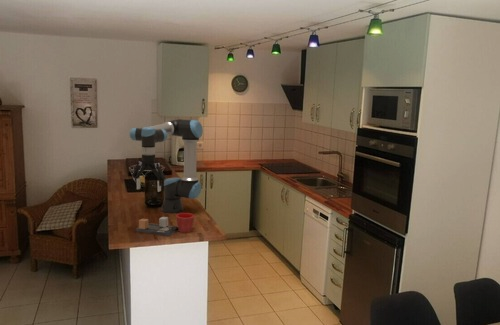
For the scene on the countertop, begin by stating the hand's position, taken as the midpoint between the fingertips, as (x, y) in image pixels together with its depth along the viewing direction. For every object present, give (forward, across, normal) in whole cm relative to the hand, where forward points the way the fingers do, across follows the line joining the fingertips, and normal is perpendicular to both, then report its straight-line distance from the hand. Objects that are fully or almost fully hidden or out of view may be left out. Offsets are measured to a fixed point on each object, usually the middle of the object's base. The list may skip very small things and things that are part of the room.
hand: (148, 190), depth 245 cm
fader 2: (+24, +4, +10) cm, 26 cm away
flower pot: (+27, +17, +12) cm, 34 cm away
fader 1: (+24, -5, +2) cm, 25 cm away
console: (+26, +2, +6) cm, 27 cm away
